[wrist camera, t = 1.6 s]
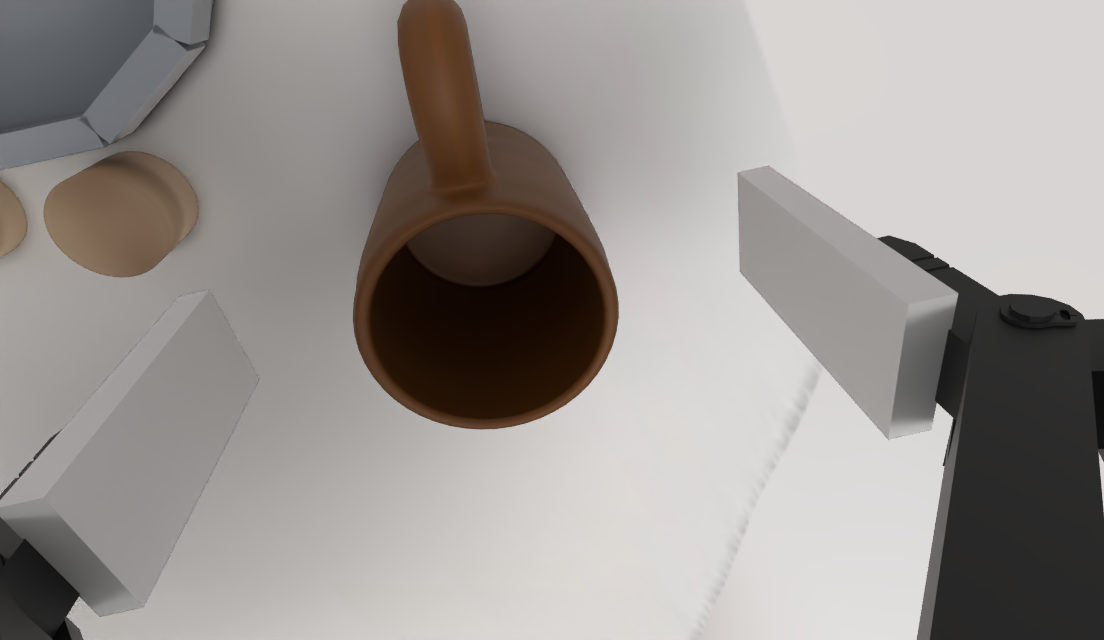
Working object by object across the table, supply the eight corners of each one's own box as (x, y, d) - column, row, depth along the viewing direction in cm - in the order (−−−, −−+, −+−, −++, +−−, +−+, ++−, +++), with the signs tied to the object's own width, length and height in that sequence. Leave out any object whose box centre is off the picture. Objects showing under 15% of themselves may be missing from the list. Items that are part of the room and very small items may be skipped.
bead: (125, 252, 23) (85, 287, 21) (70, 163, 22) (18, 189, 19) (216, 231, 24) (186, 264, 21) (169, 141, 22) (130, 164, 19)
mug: (322, 0, 20) (231, 22, 12) (544, -33, 20) (601, -33, 12) (410, 306, 26) (389, 455, 18) (579, 277, 27) (632, 410, 19)
